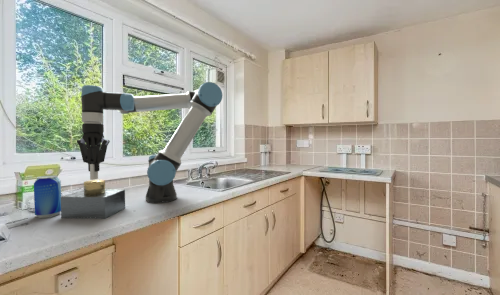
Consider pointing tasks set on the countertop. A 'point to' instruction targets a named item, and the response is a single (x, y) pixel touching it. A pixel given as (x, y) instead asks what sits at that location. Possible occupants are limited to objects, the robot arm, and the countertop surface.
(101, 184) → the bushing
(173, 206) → the countertop surface
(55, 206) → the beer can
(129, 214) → the countertop surface
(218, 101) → the robot arm
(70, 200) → the block
